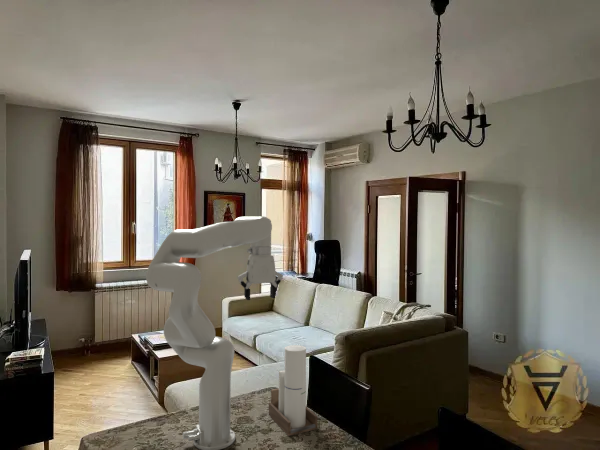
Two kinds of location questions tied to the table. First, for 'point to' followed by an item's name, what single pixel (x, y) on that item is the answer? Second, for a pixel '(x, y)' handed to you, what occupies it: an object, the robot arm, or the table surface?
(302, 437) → the table surface
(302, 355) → the cylindrical container
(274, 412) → the brown wooden tray
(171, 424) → the table surface
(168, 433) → the table surface
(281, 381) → the block
